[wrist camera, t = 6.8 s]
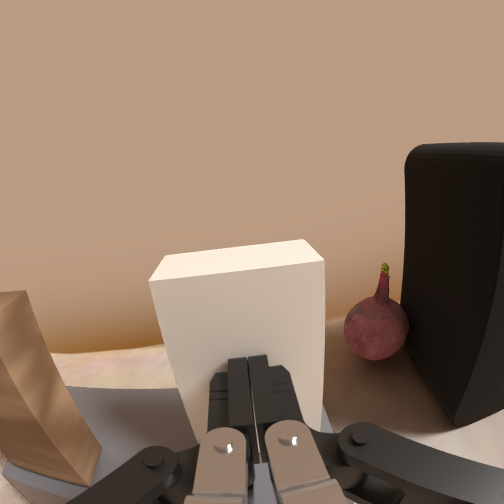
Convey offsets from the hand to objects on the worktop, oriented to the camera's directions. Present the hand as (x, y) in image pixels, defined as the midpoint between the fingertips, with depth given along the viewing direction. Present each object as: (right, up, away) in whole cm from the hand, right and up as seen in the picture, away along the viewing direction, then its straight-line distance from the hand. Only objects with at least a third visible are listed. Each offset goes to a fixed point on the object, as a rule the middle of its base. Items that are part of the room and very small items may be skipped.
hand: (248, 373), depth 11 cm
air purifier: (+25, -6, +11) cm, 28 cm away
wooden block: (0, -5, +3) cm, 6 cm away
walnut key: (-11, -7, 0) cm, 13 cm away
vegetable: (+12, -6, +15) cm, 20 cm away
